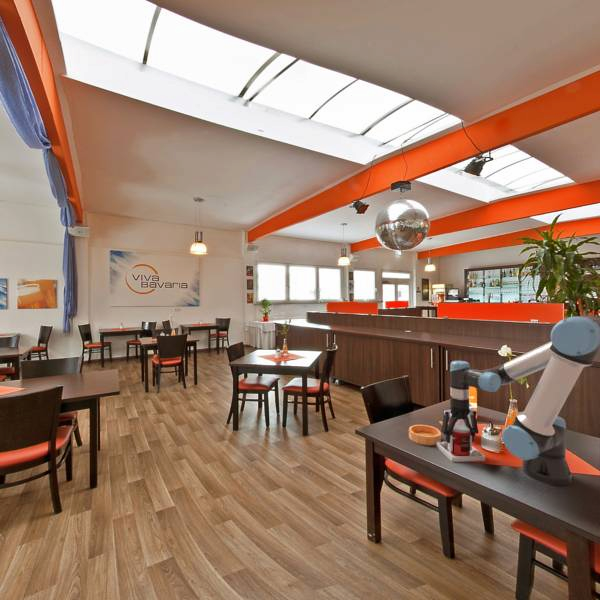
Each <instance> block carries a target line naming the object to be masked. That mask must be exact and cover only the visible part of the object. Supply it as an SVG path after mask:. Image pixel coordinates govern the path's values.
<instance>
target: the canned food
mask: <svg viewBox="0 0 600 600" xmlns="http://www.w3.org/2000/svg"><path fill="white" fill-rule="evenodd" d="M451 435H452V451H450V452H451V453H452V454H454V455H456V456H469V455H470V429H469V428H468V427H466V426H463V425H457V424H455V426H454V428H453V431H452V433H451Z"/></svg>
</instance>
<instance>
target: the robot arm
mask: <svg viewBox="0 0 600 600" xmlns="http://www.w3.org/2000/svg"><path fill="white" fill-rule="evenodd" d="M599 353H600V315H584V316H583V315H582V316H579V315H578V316H570V317H566V318H565V319H562V320H559V321H558V322H557V323H556V324H555V325H554V326H553V327H552V329H551V332H550V341H549V342H546V343H545V344H542V345H540V346H538V347H536V348H534V349H531V350H530V351H528V352H525V353H523V354H522V355H519V356H518V357H514V358H512V359H511V360H508V361H506V362H505V363H502V364H500V365H498V366H496V367H491V368H486V369H482V370H481V369H475V368H472V367H471V366H470V362H468V361H465V360H452V361H451V362H450V369H449V376H450V377H449V378H450V384H449V385H450V387H449V390H450V393H449V394H450V397H449V405H450V407H449V408H448V410H446V409H443V410H442V413H443V416H442V417H443V418H442V424H441V430H440V431H441V434H444V435H445V442H447V443H448V449H449V450H450V451H452V435H451V433H452V431H453V428H454V426H455V423H456V422H457V420H459V419H463V420H464V422H465V425H466V427H468V428H469V429H470V451H472V446H473V443H474V440H475V436H476V434H479V428H478V421H477V419H476V413H477V414H478V412H476V411H475V410H473V409H471V410H470V409H469V397H470V393H469V386H470V387H474V388H476V389H477V390H478V389H479V390H483V391H484V392H490V393H496V392H498V390H499V389H500V388H501V386H507V385H509V384H510V385H511V384H512V383H514V382H515V381H517V380H519V379H522V378H524V377H527V376H529V375H531V374H534V373H536V372H538V371H541V370H543V369H544V371H543V372H542V375H541V376H540V379H539V381H538V383H537V384H536V387H535V389H534V391H533V393H532V395H531V397H530V398H529V401H528V403H527V405H526V406H525V409H524V410H523V411H519V412H517V413H516V415H515V418H514V419H513V421H512V423H511V425H508V426H506V427H505V428H504V429H503V431H502V433H501V438H502V442H503V443H504V446H505V449H507V451H509V453H511V455H513V456H515V457H516V458H518V459H520V460H522V462H521V468H522V469H521V470H522V471H523V473H524V474H525V475H527V476H529V477H530V478H532V479H533V480H536V481H538V482H540V483H541V482H542V483H545V484H549V485H556V486H567V485H570V484H571V483H572V472H571V470H570V467H569V465H568V462H567V459H566V454H567V453H566V451H567V450H566V448H567V446H566V444H567V443H566V442H567V441H566V439H567V432H566V431H567V426H566V420H565V419H564V418H562V417H561V416H559V413H561V412H560V411H561V410H562V408H563V406H564V404H565V402H566V401H567V398H568V397H569V395H570V394H571V391H572V389H573V388H574V386H575V384H576V382H577V380H578V378H579V377H580V375H581V374H582V371H583V369H584V368H585V367H591V366H593V363H594V362H595V360H596V359H597V357H598V355H599ZM469 413H470V418H471V424H472V427H471V425H470V422H469V419H468V414H469ZM450 414H452V415H451V417H450Z"/></svg>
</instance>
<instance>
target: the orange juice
mask: <svg viewBox="0 0 600 600" xmlns="http://www.w3.org/2000/svg"><path fill="white" fill-rule="evenodd" d="M469 393H470V397H469V403H470V404H473V405H474V406H475V408H474V409H473V410H475V411H476V412H477V411H478V409H477V408H478V404H477V403H478V400H477V399H478V398H477V397H478V391H477V388H474V387H470V386H469ZM477 417H478V412H477V413H476V420H477Z"/></svg>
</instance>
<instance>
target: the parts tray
mask: <svg viewBox="0 0 600 600" xmlns="http://www.w3.org/2000/svg"><path fill="white" fill-rule="evenodd" d="M442 442H443V441H441V442H436V445H435V446H436V448H437V449H439V451H440V452H441V453H443V454H444V456H446V458H448V460H450V461H451V463H452V462H453V463H456V462H457V463H459V462H486V456H485V455H484V453H482V452H480V450H478V449H477V448H476V447H474V446H473V445H472V451H474V450H476V451H478V452H479V453H480V456H472V451H470V455H469V456H456V455H454V454H452V453H451V452H450V450H449V449H448V448H447V449H444V448H443V447H442V446H441V443H442ZM447 444H448V443H447Z"/></svg>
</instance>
